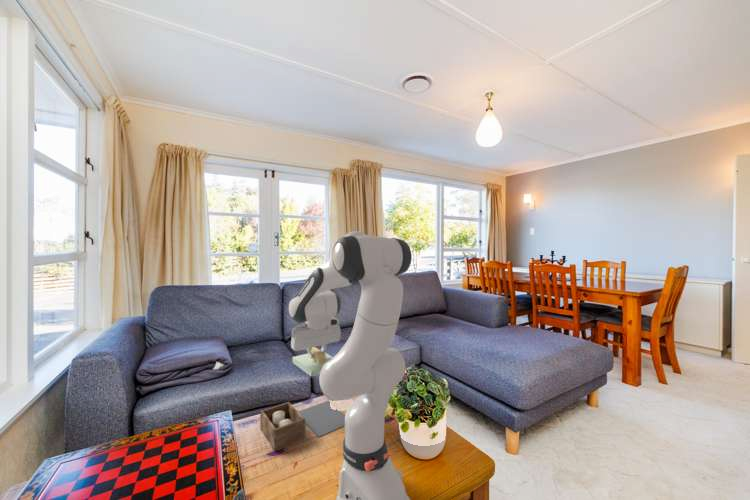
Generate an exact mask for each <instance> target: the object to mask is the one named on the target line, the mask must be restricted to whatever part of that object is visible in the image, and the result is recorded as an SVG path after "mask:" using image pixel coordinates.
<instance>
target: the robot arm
mask: <svg viewBox="0 0 750 500" xmlns="http://www.w3.org/2000/svg"><path fill="white" fill-rule="evenodd" d="M412 258H413V257H412V251H411V247H410V245H409V244H408V242H406V241H405V240H402V239H400V238H397V237H391V238H390V237H384V236H376V235H367V234H366V233H364V232H363V231H359V230H353V231H349V232H347V233H346V234H345V235H344V237H340V238H338V239H337V241H336V242H335V243H334V246H333V249H332V254H331V256H330V257H329V258H328V259H327V260H326V261H325V262H324V263H323V264H322V265H320V266H319V267H317V268H316V269H315V270H313V271H312V272H311V274H310V275H309V276H308V277H307V279H306V280H305V281H304V282H303V284H302V286H301V287H300V288H299V290H298V292H296V293H294V295H293V296H292V297H291V298H290V300H289V303H288V315H289V317H290V318H291V319H292V320H294V321H295V322H296V323H297V325H294V327H293V328H292V329H291V333H290V334H291V341H290V348H291V349H292V350H293V351H295V352H299V351H303V350H305V351H307V353H309V358H310V359H312V358H314V357H315V354H314V353H312V352H311V350H312V347H315V348H317V347H320V346H321V349H320V350H321V351H322V352H325V351H326V349H327V346H328V345H329V344H334V343H337V342H340V340H341V339H342V336H341V335H342V334H341V326H340V325H339V324H340V319H338V318H336V317H337V315H338V314H339V313H340V310H341V302H342V301H341V298H340V296H339V295H338V294H337V293H336V292H334V291H331V290H334V289H340V288H344V287H345V288H346V287H349V286H351V285H356V284H357V283H359V284H360V288H361V289H360V290H361V295H360V299H359V301H358V307H357V309H356V310H357V311H356V316H355V319H354V322H353V323H354V324H353V327H352V330H351V333H350V335H349V337H348V339H346V342H345V343H344V344H343V346H342V347H341V349H340V350H339V351H338V352H337V353H336V354H335V355H334V356H332V357H333V358H332V359H331V360H329V361H328V362H326V363H325V364H324V365H323V367H322V369H321V372H320V375H319V376H318V377H319V381H318V382H319V386H320V390H321V392H322V393H323V395H324V397H326V399H328V401H332V402H333V401H346V400H348V401H349V400H352V399H354V400H353V402H351V403H350V405H349V406H348V407H347V409H346V412H345V413H344V414H345V426H344V438H343V442H342V457H343V462H342V464H341V468H340V472H339V479H338V480H339V481H338V491H337V497H336V498H335V500H411V498H410V497H409V496H408V494H407V491H406V487H405V484H404V482H403V473H402V471H401V470H400V469H397V470H396V468H395V465H394V464H393V461H392V459H391V458H390V456H391V451H388V445H387V442H386V439H385V421H386V420H385V419H386V418H385V417H386V413H387V408H388V404H389V402H390V399H391V397H392V394H393V393H394V390H395V389H396V387H397V386H398V384H399V383H400V382H401V381H402V379H403V378H404V377H405V374H406V361H405V359H404V357H403V355H402V353H401V352H400V351H399V350H398V349H397V348H396V347H391V346H392V344H393V343H394V339H395V335H396V331H397V328H398V323H399V319H400V316H401V311H402V307H403V297H404V286H403V282H402V280H401V279H400V278H399V275H402V274H405V273H407V271H408V270H409V268H410V266H411V263H412ZM301 323H303V324H301Z"/></svg>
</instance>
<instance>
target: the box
mask: <svg viewBox="0 0 750 500" xmlns="http://www.w3.org/2000/svg"><path fill="white" fill-rule="evenodd" d="M298 411H299V410H297V409H296V408H295V406H294V405H293V404H291V402H290V401H287V402H283V403H281V404H278V405H275V406H272V407H268V408H265V409H263V410H260V421H259V422H260V431H261V433H262V434H263V436H264V437H265V439H266V441H267V442H268V444H269V445H270V447H271V448H272V450H273V451H274V452H276V451H279V450H281V449H283V448H286V447H288V446H291V445H293V444H295V443H298V442H300V441H302V440H305V439H306V423H305V418H304V417H303V416H302V415H301V414H300V413H299V412H298Z"/></svg>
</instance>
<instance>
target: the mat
mask: <svg viewBox="0 0 750 500" xmlns="http://www.w3.org/2000/svg"><path fill="white" fill-rule="evenodd" d="M330 403H331V402H330V400H325V401H323V402H320V403H318V404H314V405H312V406H310V407H307V408H304V409H301V410H297V411H298V412H299V413H300V414H301V415H302V416H303V417H304V418H305V425H306V426H307V427H308V428H309V429H310V430H311V431H312V432H313V434H315V435H316V437H317V438H320V437H323V436H325V435H327V434H330V433H332V432H334V430H335V431H337V430H339V429H341V428H343V427H344V428H345V414H346V413H344V412H343V411H341V410H340V411H338V410H337V409H336V410H333V409H331V407H330Z"/></svg>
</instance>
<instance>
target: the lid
mask: <svg viewBox="0 0 750 500" xmlns="http://www.w3.org/2000/svg"><path fill="white" fill-rule="evenodd" d="M311 352H312V353H314V354H315V357H314V358H312V359H310V358H309V353H308V352H307V353H304V354H299V355H296V356H292V359H291V360H292V363H293V364H294V365H295V366H296V367H298V368H299V369H301V370H302V371H303V372H304V373H306V374H307V375H308V376H310V377H312V378H313V377H316V376H320V372H321V369H322V367H323V365H324V364H325V363H326V362H328V361H329V360H331V359H332V358H333V357H334V356H332V355H330V354H328V353H327V352H325V351H324V352H322V351H321V349H319V348H317V347H312V350H311Z"/></svg>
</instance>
